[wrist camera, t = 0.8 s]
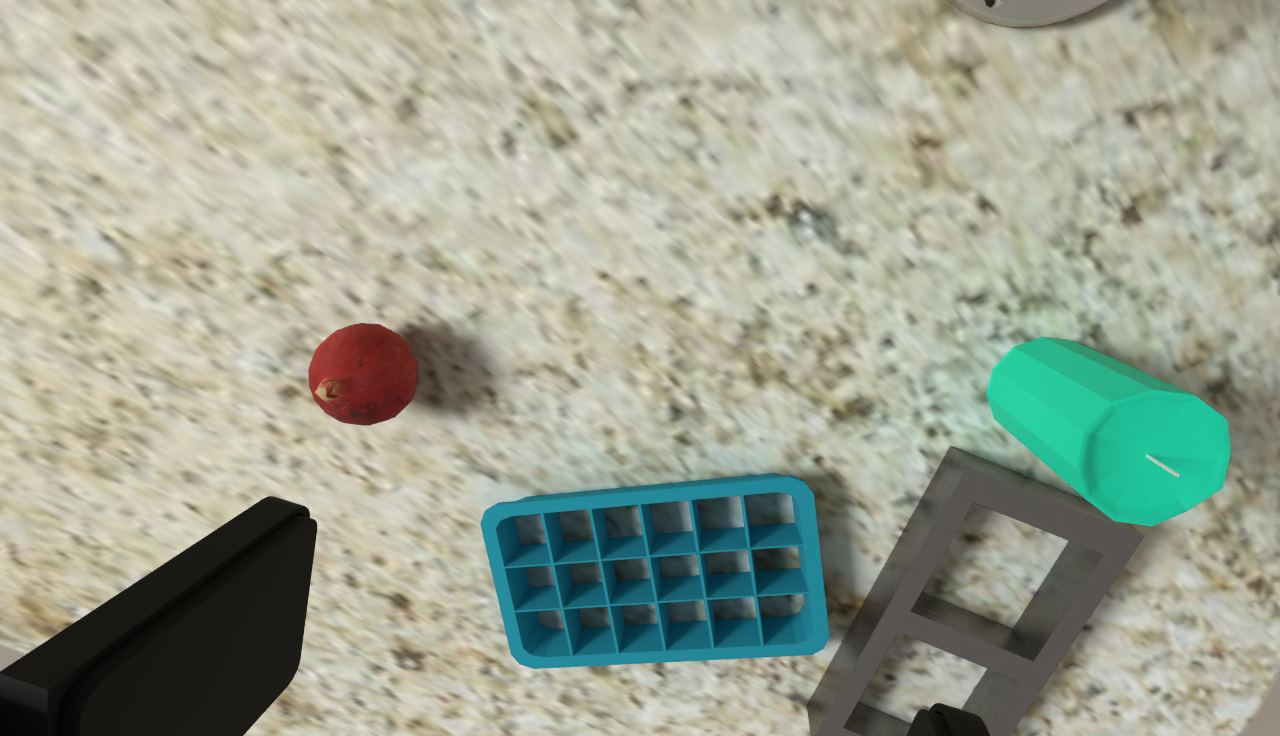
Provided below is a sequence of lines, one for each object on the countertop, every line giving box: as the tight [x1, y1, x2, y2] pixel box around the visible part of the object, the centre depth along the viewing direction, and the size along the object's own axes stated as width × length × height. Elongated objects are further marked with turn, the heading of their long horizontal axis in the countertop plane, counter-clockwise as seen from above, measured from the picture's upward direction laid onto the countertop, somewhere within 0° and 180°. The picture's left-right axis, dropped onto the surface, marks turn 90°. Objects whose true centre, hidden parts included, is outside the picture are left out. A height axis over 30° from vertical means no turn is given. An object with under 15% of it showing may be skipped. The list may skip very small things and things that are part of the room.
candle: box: [986, 337, 1231, 526], centre depth 32 cm, size 6×6×12 cm
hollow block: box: [807, 446, 1144, 736], centre depth 41 cm, size 20×10×3 cm, turn 160°
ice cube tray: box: [481, 473, 830, 669], centre depth 43 cm, size 12×20×3 cm, turn 99°
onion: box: [308, 323, 418, 425], centre depth 39 cm, size 6×6×8 cm
